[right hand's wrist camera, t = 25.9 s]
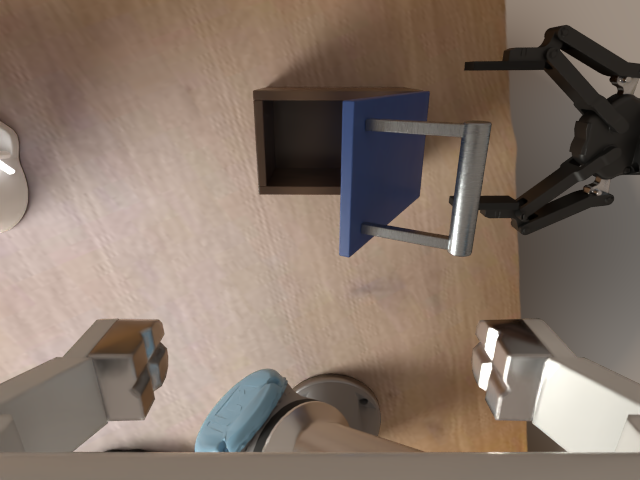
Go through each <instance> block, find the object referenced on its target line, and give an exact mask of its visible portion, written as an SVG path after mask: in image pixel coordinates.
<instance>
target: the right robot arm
mask: <svg viewBox="0 0 640 480" xmlns="http://www.w3.org/2000/svg"><path fill="white" fill-rule="evenodd" d="M27 203H28V187H27V182H26V178H25V175H24V173H23V170H22V167H21V165H20V162H19V141H18V137H17V134H16V133H15V131H14V130H13V129H11V128H10V127H8V126H7V125H5V124H4V123H3V122H1V121H0V233H3V232H6V231H8V230H10V229H11V228H13V227H14V226H15V225H16V224H17V223H18V222H19V221H20V220H21V218H22V217H23V215H24V213H25V211H26V208H27ZM163 336H164V329H163V325H162V322H161V321H160V320H152V319H99V320H96V321H95V322H94V324H93V325H92V326H91V327H90V328H89V329H88V330H87V331H86V332H85V333H84V334H83V336H82V337H81V338H80V339H79V340H78V341H77V342H76V343H75V344H74V345H73V346H72V347H71V349H70V350H69V351H68V352H67V353H66V354H65V355H64V356H63V357H56V358H54V359H52V360H49V361H47V362H45V363H43V364H41V365H39V366H37V367H35V368H33V369H30V370H28V371H26V372H24V373H22V374H20V375H18V376H16V377H14V378H12V379H9V380H7V381H5V382H3V383H1V384H0V480H640V384H639V383H637V382H635V381H632V380H630V379H628V378H626V377H624V376H622V375H620V374H618V373H616V372H614V371H612V370H609V369H607V368H605V367H603V366H601V365H599V364H597V363H595V362H593V361H591V360H588V359H586V358H584V357H577V356H576V355H575V354H574V353H573V352H572V351H571V350H570V349H569V347H568V346H567V345H566V344H565V343H564V342H563V341H562V340H561V339H560V338H559V337H558V335H557V334H556V333H555V332H554V331H553V330H552V329H551V328H550V327H549V326H548V325H547V324H546V322H545V321H543V320H541V319H514V320H480V321H479V323H478V325H477V329H476V336H477V338H478V339H479V341H480V342H479V343H478V344H477V345H476V346H475V347H474V348H473V353H472V371H473V374H474V378H475V380H476V382H477V384H478V386H479V387H481V388H482V389H484V390H485V391H486V397H485V400H486V402H487V404H488V406H489V408H490V410H491V412H492V414H493V415H494V417H495V419H496V420H511V421H532V423H533V424H534V425H535V426H537V427H538V428H539V429H540V430H542V431H543V432H544V433H545V434H546V435H548V436H549V437H550V438H551V439H553V440H554V441H555V442H556V443H558V444H559V445H560V446H561V447H562V448H564V449H565V450H566V451H567V452H73V451H74V450H75V449H76V448H78V447H79V446H80V445H81V444H83V443H84V442H85V441H86V440H88V439H89V438H90V437H91V436H92V435H94V434H95V433H96V432H97V431H99V430H100V429H101V428H102V427H104V426H105V425H106V424H107V423H108V421H128V420H144V419H145V417H146V416H147V414H148V412H149V410H150V408H151V406H152V404H153V402H154V400H155V397H154V391H155V390H156V389H158V388H159V387H161V386H162V384H163V382H164V380H165V378H166V374H167V369H168V352H167V348H166V347H165V346H164V345H163V344H162V343H161V342H160V341H161V339H162V338H163Z"/></svg>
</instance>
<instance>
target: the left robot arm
mask: <svg viewBox="0 0 640 480" xmlns="http://www.w3.org/2000/svg"><path fill="white" fill-rule="evenodd" d="M544 37H545V39H544V41H543V43H542V44H541V45H540V46H539V47H537V48H510V49H507V50H505V51H504V54H503V61H475V62H465V68H464V70H545V72H546V73H547V74H548V75H549V76H550V77H551V78H552V79H553V80H554V81H555V83H556V84H557V85H558V86H559V87H560V88H561V89H562V90H563V91H564V92H565V93H566V94H567V96H568V97H569V98H570V99H571V100H572V101H573V102H574V106H575V107H576V108H577V109H578V110H579V111H580V112H581V114H582V117H581V118H580V119H579V121H576V123H575V128H574V132H575V137H574V139H573V141H572V143H571V146H570V152H572V157H571V158H569V159H568V160H566V161H565V162H564V163H562V164H561V166H560V168H559V169H558V170H556V171H555V172H553V173H552V174H551V175H549V176H548V177H546V178H545V179H544V180H542V181H541V182H540V183H538V184H537V185H535V186H534V187H533V188H531V189H530V190H528V191H527V192H526V193H524V194H523V195H521V196H520V197H519V198H517V199H516V200H514V199H513V198H511V197H510V196H480V202H479V208H478V210H480V213H481V214H483V215H484V216H485V217H488V218H511V219H512V221H511V225H512V227H514V228H515V229H516V230H517V231H519V232H520V233H521V234H523V235H527V234H530V233H532V232H535V231H537V230H539V229H541V228H544V227H546V226H548V225H551V224H553V223H555V222H558V221H560V220H562V219H565V218H567V217H569V216H572V215H574V214H576V213H579V212H581V211H583V210H586V209H588V208H590V207H596V206H605V205H610V204H611V203H612V202H613V201H614V196H613V195H611V194H609V187H610V180H611V179H612V178H614V177H616V176H619V175H640V98H637V97H635V96H634V95H633V94H634V91H635V88H636V86H637V83H638V80H639V78H640V64H637V63H629V62H627V61H625V60H623V59H622V58H620V57H619V56H617V55H615V54H614V53H612V52H610V51H609V50H607V49H606V48H604V47H602V46H601V45H599V44H598V43H596V42H594V41H593V40H591V39H589V38H588V37H586V36H585V35H583V34H581V33H580V32H578V31H577V30H575V29H573V28H572V27H570V26H568V25H564V26H558V27H553V28H549V29H548V30H547V31H546V32H545V36H544ZM560 49H561V50H562V51H564V52H566V53H567V54H569V55H571V56H572V57H574V58H576V59H577V60H579V61H581V62H582V63H584V64H586V65H587V66H589V67H591V68H592V69H594V70H596V71H597V72H599V73H601V74H603V75H606V76H610V82H611V83H612V84H613V85H614V86H616V87H617V89H618V92H617V94H614V95H612V96H611V97H609V98H608V99H606V98H605V97H603V96H601V95H599V94H598V93H597V92H596V90H595V89H594V88H593V87H592V86H591V85H590V84H589V83H588V81H587V80H586V79H585V78H584V77H583V76H582V75H581V74H580V72H579V71H578V70H577V69H576V68H575V67H574V66H573V65H572V63H571V62H570V61H569V60H568V59H567V58H566V57H565V56H564V54H563V53H562V52H561V51H560ZM580 165H581V167H579V166H580ZM592 175H593V176H595V177H596V179H595V181H594V182H593V183H591V184H589V185H585V186H584V187H583V190H579V191H575V192H572V193H570V194H568V195H565V196H563V197H561V198H559V199H556V200H554V201H552V202H550V201H551V200H553V199H554V198H556V197H557V196H558V195H560V194H561V193H563V192H564V191H566V190H567V189H568V188H570V187H571V186H573V185H574V184H576V183H577V182H579V181H583V180H586V179H587V178H589V177H590V176H592ZM453 201H454V196H450V198H449V203H450V204H451V205H452V206H453ZM548 202H550V203H548ZM380 423H381V415H380V409H379V404H378V401H377V399H376V397H375V395H374V394H373V392H372V391H371V390H370V389H369V388H368V387H367V386H366V385H364V384H363V383H361V382H360V381H358V380H356V379H353V378H351V377H347V376H343V375H335V374H328V375H320V376H315V377H312V378H309V379H307V380H305V381H303V382H301V383H300V384H298V385H297V386H295V387H294V388H293V389H292V388H291V387H290V386H289V384H288V381H287V380H286V378H285V377H282V376H281V375H280V374H279V373H278V372H277V371H275V370H273V369H262V370H259V371H256V372H254V373H252V374H250V375H248V376H247V377H245V378H244V379H243V380H241V381H240V382H238V383H237V384H236V385H235V386H234V387H232V388H231V389H230V390H229V391H228V392H227V393H226V394H225V395H224V396H223V397H222V398H221V399H220V401H219V402H218V403H217V404H216V405H215V407H214V408H213V409H212V411H211V412H210V413H209V415H208V416H207V418H206V419H205V421H204V423H203V425H202V427H201V429H200V432H199V433H198V436H197V439H196V443H195V452H424V451H421V450H418V449H415V448H412V447H409V446H406V445H403V444H400V443H396V442H393V441H390V440H387V439H384V438H381V437H378V434H379V429H380Z"/></svg>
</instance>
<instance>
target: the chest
mask: <svg viewBox="0 0 640 480" xmlns="http://www.w3.org/2000/svg"><path fill="white" fill-rule="evenodd" d="M419 91H421V90H415V89H409V88H331V87H266V88H261V89H257V90H254V91H253V99H254V117H255V135H256V153H257V171H258V186H259V187H258V189H259V194H282V195H341V154H342V108H343V101H344V100H352V99H360V98H369V97H377V96H385V95H394V94H402V93H410V92H419Z"/></svg>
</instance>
